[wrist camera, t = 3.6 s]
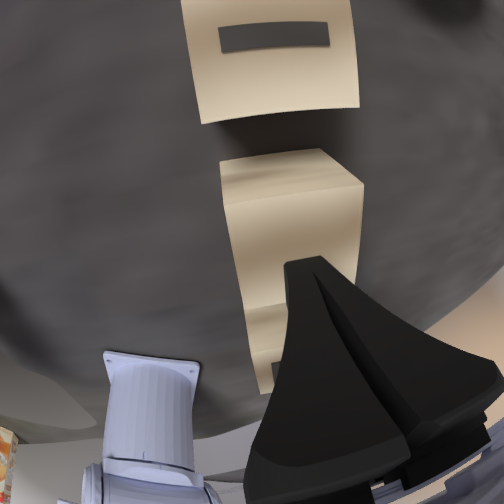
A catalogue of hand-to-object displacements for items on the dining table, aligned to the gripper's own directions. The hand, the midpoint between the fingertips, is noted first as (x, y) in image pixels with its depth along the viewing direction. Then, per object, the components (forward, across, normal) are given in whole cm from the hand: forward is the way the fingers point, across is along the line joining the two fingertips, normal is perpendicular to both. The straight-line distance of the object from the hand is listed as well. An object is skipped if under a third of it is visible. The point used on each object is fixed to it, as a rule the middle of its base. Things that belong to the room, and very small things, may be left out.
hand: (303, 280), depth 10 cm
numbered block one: (+6, 0, -8) cm, 10 cm away
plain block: (+6, 0, 0) cm, 6 cm away
